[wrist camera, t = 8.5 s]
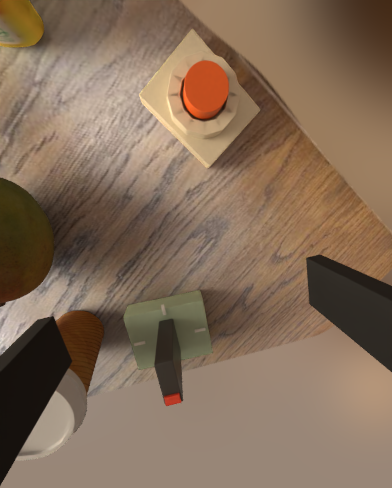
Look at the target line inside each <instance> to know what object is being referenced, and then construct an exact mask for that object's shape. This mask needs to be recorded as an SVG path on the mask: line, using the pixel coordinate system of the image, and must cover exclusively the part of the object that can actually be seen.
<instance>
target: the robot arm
mask: <svg viewBox="0 0 392 488" xmlns="http://www.w3.org/2000/svg"><path fill="white" fill-rule="evenodd" d="M306 260H307V275H308V289H309V304H310V305H311V306H313V307H314V308H315V309H316V310H317V311H319V312H320V313H321V314H322V315H324V316H325V317H326V318H327V319H328V320H330V321H331V322H332V323H333V324H334V325H336V326H337V327H338V328H339V329H341V330H342V331H343V332H344V333H345V334H347V335H348V336H349V337H350V338H351V339H352V340H354V341H355V342H356V343H357V344H358V345H360V346H361V347H362V348H363V349H365V350H366V351H367V352H368V353H369V354H370V355H372V356H373V357H374V358H375V359H376V360H378V361H379V362H380V363H381V364H383V365H384V366H385V367H386V368H387V369H389V370H390V371H391V372H392V286H390V285H388V284H386V283H384V282H381V281H379V280H377V279H375V278H372V277H370V276H368V275H366V274H363V273H361V272H359V271H356V270H354V269H352V268H350V267H347V266H345V265H343V264H340V263H338V262H336V261H334V260H331V259H329V258H327V257H324V256H322V255H316V256H312V257H308V258H306ZM71 363H72V359H71V357H70V354H69V352H68V350H67V347H66V345H65V343H64V340H63V338H62V335H61V333H60V331H59V328H58V326H57V324H56V321H55V319H54V317H53V316H52V317H48V318H43V319H39V320H37V321H36V322H35V323H34V324H33V325H32V326H31V327H30V328H29V329H27V330H26V331H25V332H24V333H23V334H22V335H21V336H20V337H19V338H18V339H17V340H16V341H15V342H14V343H13V344H12V345H11V346H10V347H9V348H8V349H7V350H6V351H5V352H4V353H3V354H2V355H1V356H0V485H1V483H2V482H3V480H4V478H5V477H6V475H7V473H8V471H9V469H10V468H11V466H12V464H13V463H14V461H15V459H16V458H17V456H18V454H19V452H20V451H21V449H22V447H23V446H24V444H25V442H26V440H27V439H28V437H29V435H30V434H31V432H32V430H33V428H34V427H35V425H36V423H37V422H38V420H39V418H40V416H41V415H42V413H43V411H44V410H45V408H46V406H47V404H48V403H49V401H50V399H51V397H52V396H53V394H54V392H55V391H56V389H57V387H58V385H59V384H60V382H61V380H62V379H63V377H64V375H65V373H66V372H67V370H68V368H69V367H70V365H71Z"/></svg>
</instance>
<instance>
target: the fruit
mask: <svg viewBox="0 0 392 488" xmlns="http://www.w3.org/2000/svg"><path fill="white" fill-rule="evenodd" d="M53 256H54V235H53V231H52V227H51V224H50V222H49V220H48V218H47V216H46V214H45V213H44V211H43V210H42V208H41V207H40V205H39V204H38V203H37V201H36V200H35V199H34V198H33V197H32V196H31V195H30V194H29V193H28V192H27V191H26V190H24V189H23V188H21V187H20V186H18V185H17V184H15V183H13V182H11V181H8V180H6V179H3V178H0V307H1V306H3V305H5V303H6V302H8V301H12V300H15V299H18V298H20V297H22V296H24V295H26V294H28V293H30V292H31V291H33V290H34V289H36V288H37V287H38V286H39V285H40V284H41V283H42V282H43V280H44V279H45V278H46V276H47V274H48V273H49V271H50V268H51V265H52V261H53Z"/></svg>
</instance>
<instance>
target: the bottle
mask: <svg viewBox="0 0 392 488" xmlns="http://www.w3.org/2000/svg"><path fill="white" fill-rule="evenodd" d="M43 32H44V25H43V21H42V19H41V17H40V16H39V14H38V13H37V12H36V10H35V9H34V7H33V6H32V4H31V2H30V1H29V0H0V46H4V47H28V46H32V45H34V44H36V43H37V42H38V41H39V40H40V38H41V37H42V35H43Z"/></svg>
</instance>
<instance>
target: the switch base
mask: <svg viewBox="0 0 392 488" xmlns="http://www.w3.org/2000/svg"><path fill="white" fill-rule="evenodd" d="M203 60H208V61H213V62H215V63H217V64H218V65H219V66H221V67H222V69H223V70H224V71H225V73H226V75H227V78H228V82H229V92H228V96H227V99H226V101H225V103H224V104H223V106H222V108H221V109H220V111H219V112H218V113H217V114H216V115H215V116H214V117H212V118H209V119H199V118H197V117H195V116H193V115H192V114H191V113H190V112H189V111H188V110H187V108H186V106H185V103H184V99H183V90H184V81H185V77H186V74H187V72H188V70H189V69H190V68H191V67H192V66H193V65H194V64H195V63H197V62H199V61H203ZM139 96H140V99H141V102H142V104H143V105H144V106H145V107H146V108H147V109H148V110H149V111H150V112H151V113H152V114H153V115H154V116H155V117H156V118H157V119H158V120H159V121H160V122H161V123H162V124H163V125H164V126H165V127H166V128H167V129H168V130H169V131H170V132H171V133H172V134H173V135H174V136H175V137H176V138H177V139H178V140H179V141H180V142H181V143H182V144H183V145H184V146H185V147H186V148H187V149H188V150H189V151H190V152H191V153H192V154H193V155H194V156H195V157H196V158H197V159H198V160H199V161H200V162H201V163H202V164H203V165H204V166H205V167H206V168H209V167H210V166H211V165H212V164H213V163H214V162H215V161H216V160H217V159H218V157H219V156H220V155H221V154H222V153H223V152H224V151H225V150H226V148H227V147H228V146H229V145H230V144H231V143H232V142H233V141H234V139H235V138H236V137H237V136H238V135H239V134H240V133H241V132H242V130H243V129H244V128H245V127H246V126H247V125H248V124H249V123H250V121H251V120H252V119H253V118H254V117H255V116H256V115H257V114H258V112H259V111H260V110H261V109H260V108H259V107H258V106H257V105H256V103H255V102H254V101H253V100H252V99H251V97H250V96H249V95H248V94H247V93H246V91H245V90H244V89H243V88H242V87H241V85H240V84H239V83H238V81H237V76H236V73H235V72H234V71H233V70H232V68H231V67H230V66H229V65H228V64H227V62H226V61H225V60H224V59H223V58H222V57H220V56H217V55H214V53H213V52H212V51H211V50H210V49H209V47H208V46H207V45H206V44H205V43H204V41H203V40H202V39H201V38H200V37H199V35H198V34H197V33H196V32H195V31H194V30H193V29H191V31H190V32H189V33H188V34H187V36H186V37H185V38H184V39H183V40H182V42H181V43H180V44H179V45H178V47H177V48H176V49H175V50H174V52H173V53H172V54H171V55H170V57H169V58H168V59H167V60H166V62H165V63H164V64H163V65H162V67H161V68H160V69H159V70H158V72H157V73H156V74H155V75H154V77H153V78H152V79H151V80H150V82H149V83H148V84H147V85H146V87H145V88H144V89H143V90H142V91H141V93H140V94H139Z"/></svg>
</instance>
